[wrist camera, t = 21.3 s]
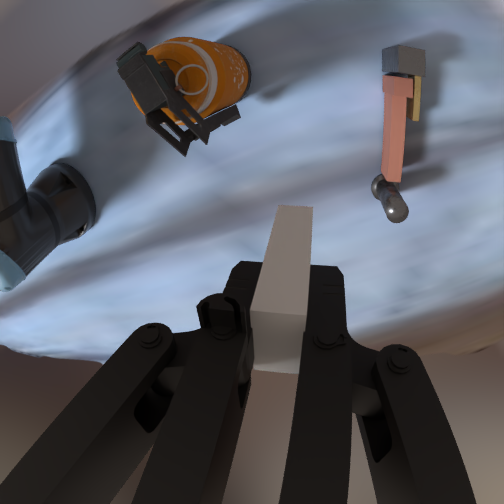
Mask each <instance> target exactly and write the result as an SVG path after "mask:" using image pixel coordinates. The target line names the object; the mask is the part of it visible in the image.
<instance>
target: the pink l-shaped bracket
mask: <svg viewBox="0 0 504 504" xmlns="http://www.w3.org/2000/svg"><path fill="white" fill-rule="evenodd" d="M383 92H385V95H384V132H383V150H382V164H381V172H382V174H383V175H384V177H385V179H386V180H387V181H390V182H401V174H402V164H403V153H404V140H405V125H406V100H407V97H409V98H413V79H409V78H402V77H394V76H384V75H383Z"/></svg>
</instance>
